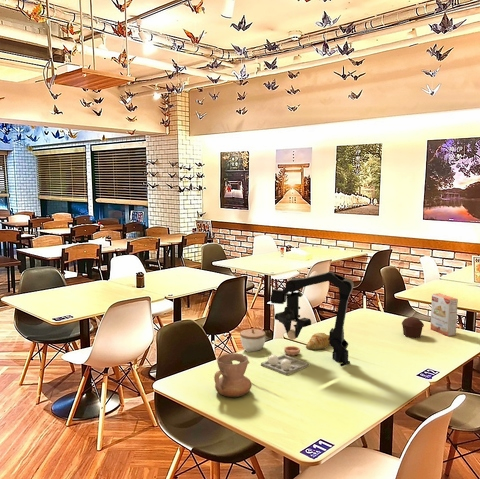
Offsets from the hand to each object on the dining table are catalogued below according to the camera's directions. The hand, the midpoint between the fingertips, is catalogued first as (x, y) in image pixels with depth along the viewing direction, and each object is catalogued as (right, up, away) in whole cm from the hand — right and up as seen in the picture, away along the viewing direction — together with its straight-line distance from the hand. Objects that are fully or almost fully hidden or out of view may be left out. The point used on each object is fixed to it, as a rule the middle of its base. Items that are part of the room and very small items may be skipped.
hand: (292, 336), depth 220 cm
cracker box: (+89, -6, +37) cm, 97 cm away
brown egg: (0, -1, 0) cm, 1 cm away
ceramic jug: (-28, -15, -39) cm, 50 cm away
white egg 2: (-5, -11, -19) cm, 22 cm away
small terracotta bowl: (0, -10, +1) cm, 10 cm away
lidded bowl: (-19, -9, +10) cm, 23 cm away
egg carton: (-5, -11, -14) cm, 18 cm away
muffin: (+70, -6, +32) cm, 77 cm away
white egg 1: (-10, -10, -13) cm, 20 cm away
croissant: (+16, -9, +16) cm, 24 cm away
